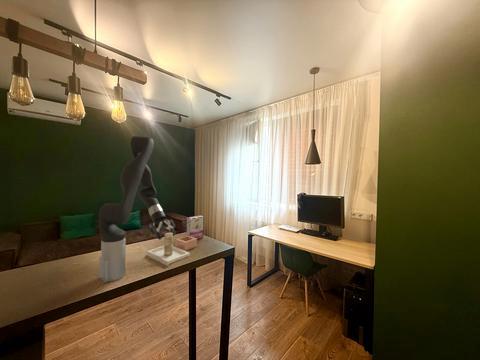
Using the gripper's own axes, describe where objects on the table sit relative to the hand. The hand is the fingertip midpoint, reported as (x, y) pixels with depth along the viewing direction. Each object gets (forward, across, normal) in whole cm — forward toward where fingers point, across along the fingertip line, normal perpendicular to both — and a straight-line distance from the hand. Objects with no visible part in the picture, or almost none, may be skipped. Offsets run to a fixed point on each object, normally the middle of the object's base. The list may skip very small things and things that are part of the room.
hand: (167, 237), depth 111 cm
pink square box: (+7, +14, +8) cm, 18 cm away
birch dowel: (+8, 0, +6) cm, 10 cm away
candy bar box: (+1, +28, +14) cm, 31 cm away
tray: (+8, 0, +7) cm, 11 cm away
